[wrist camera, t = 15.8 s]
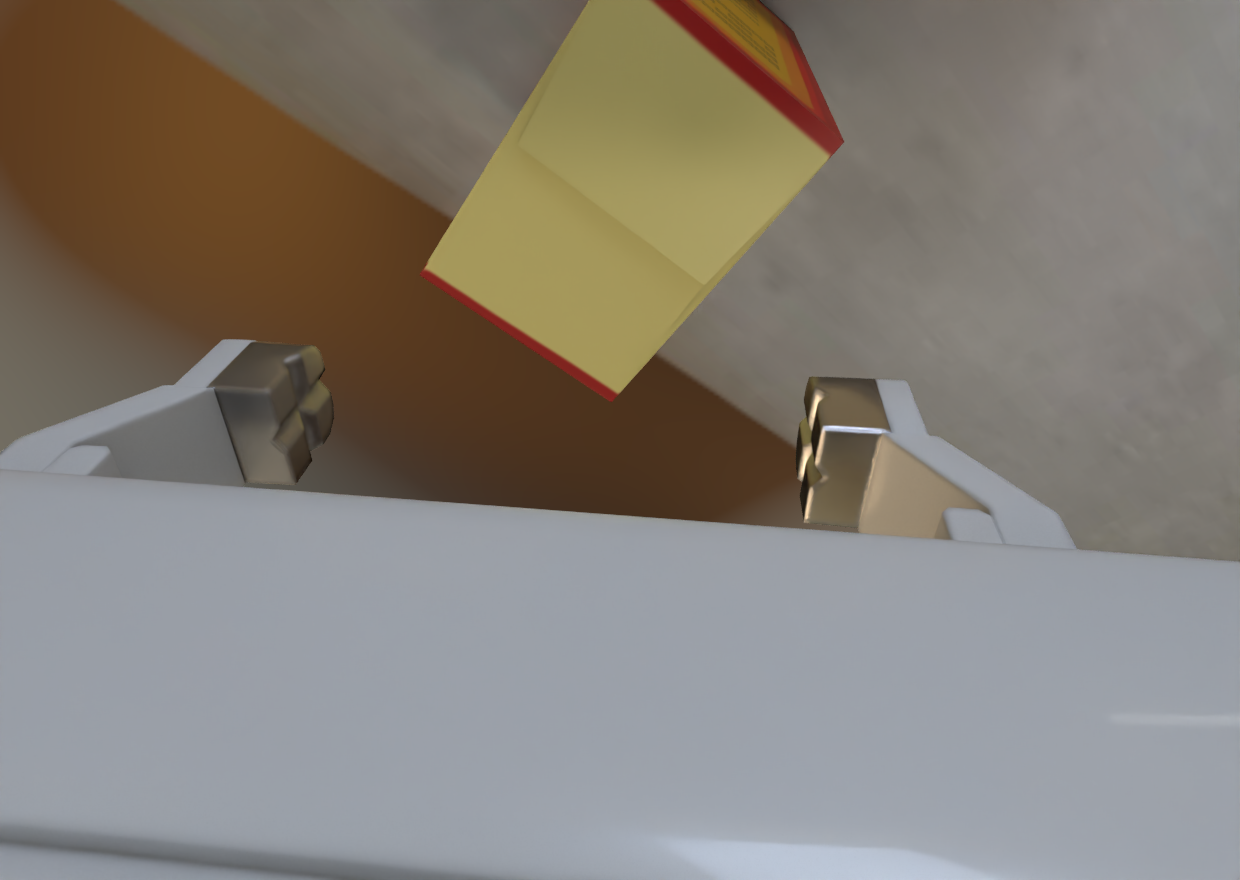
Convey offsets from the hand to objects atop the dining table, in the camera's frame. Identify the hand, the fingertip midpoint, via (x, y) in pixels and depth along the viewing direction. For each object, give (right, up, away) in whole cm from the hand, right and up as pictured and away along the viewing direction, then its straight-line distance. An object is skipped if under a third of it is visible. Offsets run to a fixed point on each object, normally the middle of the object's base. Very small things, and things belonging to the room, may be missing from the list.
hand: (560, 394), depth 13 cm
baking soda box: (+3, +14, +20) cm, 24 cm away
